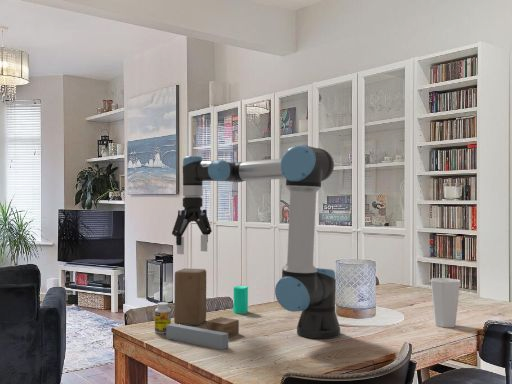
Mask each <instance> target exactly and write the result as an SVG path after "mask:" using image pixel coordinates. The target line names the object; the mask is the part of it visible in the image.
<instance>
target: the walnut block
mask: <svg viewBox="0 0 512 384" xmlns="http://www.w3.org/2000/svg"><path fill="white" fill-rule="evenodd" d="M239 325H240V320H239V319H237V318H231V317H222V316H220V317H216V318H213V319H212V318H211V319H210V320H206V329H207V330H213V331H218V332H224V333H228V338H230V337H233V336H235V335H238V334H239V333H240V331H239V329H240V327H239Z"/></svg>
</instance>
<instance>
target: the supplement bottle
mask: <svg viewBox="0 0 512 384" xmlns="http://www.w3.org/2000/svg"><path fill="white" fill-rule="evenodd" d="M156 306H157V307H156V308H155V310H154V332H155V333H156V334H161V335H164V333H165V334H166V325H168V324H172V323H171V322H172V321H171V319H172V309H171V308H170V307H169V302H164V301H163V302H161V301H160V302H157V305H156Z"/></svg>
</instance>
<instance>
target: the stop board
mask: <svg viewBox="0 0 512 384" xmlns="http://www.w3.org/2000/svg"><path fill="white" fill-rule="evenodd" d="M165 334H166V335H165V336H166V338H165V339H167V338H168V340H172V339H173V341H176V342H177V341H178V342H183V343H187V344H188V343H189V344H193V345H197V346H203V347H208V348H213V349H217V350H225V349H228V348H229V337H228V333H224V332H218V331H213V330H207V328H206V329H205V328H202V327H196V326H195V327H194V326H191V325H179V324H175V322H173V323H171V324H168V325H166V333H165Z"/></svg>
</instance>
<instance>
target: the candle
mask: <svg viewBox="0 0 512 384" xmlns="http://www.w3.org/2000/svg"><path fill="white" fill-rule="evenodd" d="M248 296H249V287H248V285H240V286H239V285H236V286H233V307H232V308H233V311H232V312H233V313H235V314H246V313H247V314H248V312H249V311H248V308H249V307H248V306H249V303H248V302H249V297H248Z"/></svg>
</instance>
